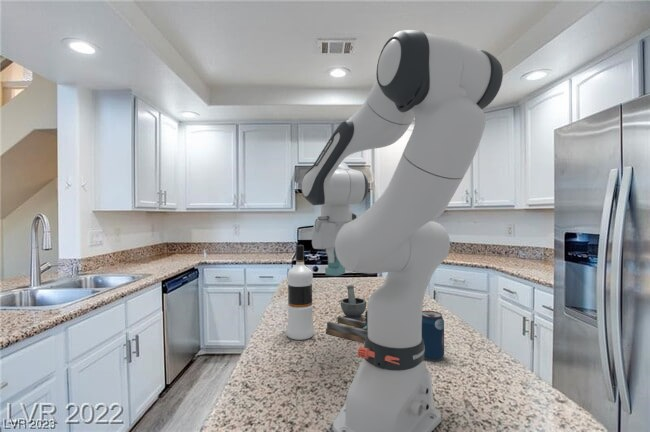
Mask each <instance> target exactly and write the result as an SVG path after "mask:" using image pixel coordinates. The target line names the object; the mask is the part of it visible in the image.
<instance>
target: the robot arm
mask: <svg viewBox="0 0 650 432" xmlns="http://www.w3.org/2000/svg"><path fill="white" fill-rule="evenodd" d="M502 66H503V65H502V64H501V62H500V61H499V59H498V58H497V57H496V56H495V55H493V54H491V53H490V52H489V51H487V50H484V49H480V48H479V49H477V48H476V47H473V46H471V45H469V44H466V43H464V42H461V41H458V40H457V39H456V38H454V37H449V36H445V35H439V34H434V33H433V34H432V33H425V31H422V30H418V29H416V30H415V29H404V30H399V31H397V32H395V33H393V34H392V35H391V36H390V38H389V39H388V40H387V41H386V42H385V44H384V45H383V47H382V49H381V52H380V55H379V57H378V61H377V66H376V80H375V81H374V84H373V86H372V88H371V89H370V92H369V93H368V95H367V97H366V100H365V101H364V103H363V104H362V105H361V106H360V108H359V109H357V111H356V112H355V113H354V114H353V115H352V116H350V117H349V118H347V119H345V120H343V121H342V122H341V123H339V125H338V126H337V128H336V129H335V130H334V131H333V133H332V135H331V136H330V138H329V139H328V140H327V143H326V145H324V147H323V149H322V150H321V152H320V154H318V155H319V156H318V157H317V158H316V160H315V161H314V163H313V165H312V166H311V167H309V168H308V170H307V171H306V172H305V174H303V177H302V181H301V194H302V196H303V197H304V199H305V200H307V202H308V203H310V204H311V205H312V206H320V215H319V216H317V217H316V220H315V221H314V224H313V228H312V235H311V245H312V248H313V249H314V250H325V253H326V254H327V258H328V257H329V263H334V262H336V256H337V258H338V260H339V262H340V264H341V265H342V266H343V267H344V268H345V271H348V272H352V273H353V272H354V273H359V274H368V275H370V274H372V275H373V274H382V273H387V274H386V277H385V279H384V281H383V282H382V284H381V285H380V286H379V287H378V288H377V289H375V290H374V291H373V292H372V293H371V294H370V296H369V297H368V301H367V303H366V309H367V310H368V333H367V335H366V339H365V342H364V343H363V346H361V345H360V346H358V350H357V356H358V357H359V358H362V360H361V362H360V363H359V366H358V368H357V370H356V372H355V375H354V376H353V379H352V381H351V384H350V386H349V388H348V391H347V392H346V393H347V394H346V398H345V402H344V403H343V405H342V407H341V409H340V410H339V412H338V414H337V415H336V417H335V419H334V420H333V422H332V428H331V429H332V431H333V432H432V431H434V430H435V428H436V427H438V425H440V423H441V422H442V413H441V412H440V411H439V410H438V409H437V408H436V407H435V406H434V394H433V391H434V390H433V379H432V377H433V376H432V373H431V371H430V370H429V369H428V367H427V365H426V364H425V361H424V360H425V359H424V352H425V346H424V340H423V338H422V311H423V307H424V306H423V305H424V299H425V296H426V293H427V292H426V291H427V288H428V286H429V284H430V281H431V279H432V277H433V275H434V273H435V271H436V270H437V269H438V267H440V265H441V264H442V263H444V261H445V260H446V259H447V257H448V255H449V253H450V247H451V241H450V236H449V233H448V232H447V230H446V228H445V227H444V226H443V225H442V224H441V223H439V222H437V221H433V220H435V219H437V218H438V217H440V216H441V215H442V214H443V213H444V212H445V211H446V209H447V208H448V205H449V204H450V202H451V201H452V199H453V197H454V195H455V193H456V192H457V189H458V188H459V187H460V184H461V182H462V181H463V179H464V177H465V175H466V173H467V172H468V170H469V167H470V166H471V164H472V162H473V160H474V157H475V156H476V153H477V151H478V148H479V145H480V142H481V140H482V137H483V134H484V130H485V128H486V115H485V113H484V110H483V109H485V108H486V107H488V106H489V105H490V104H491V103H492V102H493V101H494V99H495V98H496V97H497V96H498V93H499V91H500V89H501V86H502V83H503V75H504V73H503V72H504V70H503V67H502ZM413 121H414V126H413V129H412V132H411V135H410V136H409V139H408V141H407V143H406V145H405V147H404V149H403V151H402V155H401V156H400V160H399V162H398V163H397V166H396V168H395V170H394V172H393V174H392V177H391V179H390V181H389V183H388V185H387V187H386V188H385V190H384V191H383V193H382V194H381V195H380V196H379V198H378V199H377V200H376V201H375V202H373V204H372V205H371V206H370V207H369V208H368V209H367V210H365V211H364V212H363V213H362V214H360V215H359V216H358V215H357V214H356V213H354V212H353V211H352V210H351V207H350V206H351V205H355V204H356V205H357V204H361V203H362V202H363V201H364V200H365V199H366V198H367V196H368V193H369V180H368V178H367V176H366V175H365V173H364V172H363V171H361V170H358V169H353V168H351V167H349V166H348V164H347V163H346V162H343V161H344V160H345V159H346V158H348V157H349V156H351V155H353V154H356V153H359V152H363V151H367V150H373V149H382V148H386V147H388V146H391V145H393V144H395V143H397V141H399V140H400V138H402V137H403V136H404V135H405V133H406V132H407V131H408V129H409V127H410V126H411V124H412V123H413ZM334 247H335V252H336V256H334V252H333V251H334ZM367 310H366V311H367Z"/></svg>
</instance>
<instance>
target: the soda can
mask: <svg viewBox="0 0 650 432" xmlns="http://www.w3.org/2000/svg"><path fill="white" fill-rule="evenodd" d="M422 338H423V340H424V346H425V352H424V360H427V361H430V362H436V361H441V360H442V358H443V357H444V355H445V320H444V318H443V315H442V313H441V312H439V311H435V310H422Z"/></svg>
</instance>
